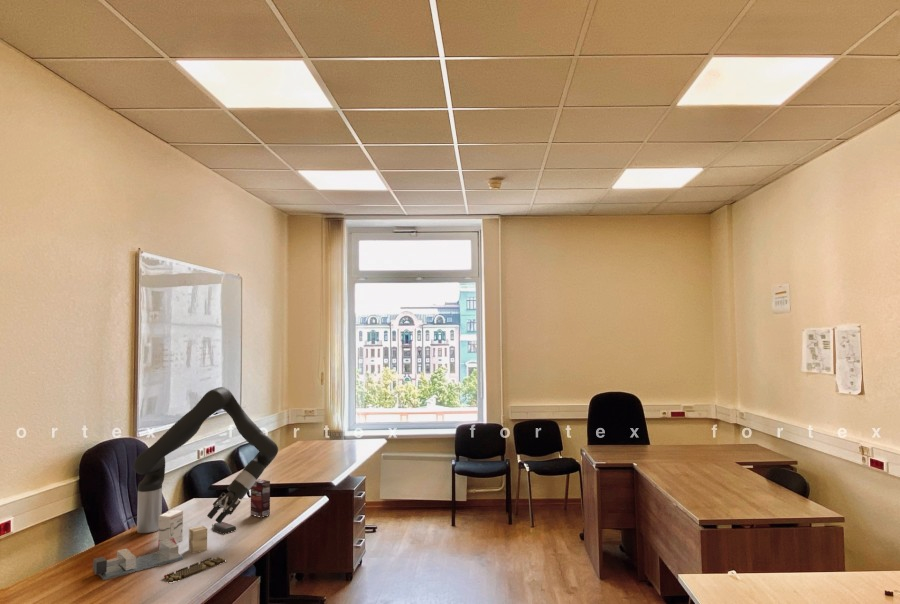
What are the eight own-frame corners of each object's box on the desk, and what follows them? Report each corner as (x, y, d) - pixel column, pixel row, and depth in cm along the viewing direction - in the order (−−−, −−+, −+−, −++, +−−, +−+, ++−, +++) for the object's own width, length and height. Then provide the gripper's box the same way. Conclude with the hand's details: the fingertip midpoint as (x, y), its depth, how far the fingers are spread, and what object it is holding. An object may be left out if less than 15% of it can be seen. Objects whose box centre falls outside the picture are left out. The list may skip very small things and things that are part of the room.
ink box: (168, 547, 213) (168, 516, 214) (157, 547, 214) (157, 516, 215) (183, 539, 222) (183, 510, 223) (172, 539, 223) (173, 509, 224)
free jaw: (90, 568, 191) (91, 556, 191) (126, 559, 198) (126, 547, 199) (98, 577, 182) (98, 565, 183) (135, 568, 190) (135, 556, 190)
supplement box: (249, 515, 253) (250, 480, 254) (258, 513, 256) (259, 478, 258) (261, 518, 248) (261, 482, 249) (270, 515, 252) (270, 480, 253)
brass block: (188, 550, 210) (189, 528, 211) (202, 546, 213) (202, 525, 214) (193, 553, 206) (193, 531, 207) (207, 549, 210) (207, 528, 211)
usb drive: (224, 534, 228) (224, 528, 228) (210, 529, 235) (210, 523, 235) (236, 531, 232) (236, 524, 232) (221, 526, 239) (221, 520, 239)
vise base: (95, 570, 192) (96, 555, 192) (171, 551, 209) (172, 537, 209) (103, 580, 183) (104, 565, 184) (182, 559, 200) (182, 545, 201)
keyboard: (171, 586, 179) (171, 580, 179) (155, 581, 183) (155, 575, 183) (229, 563, 197) (229, 557, 197) (213, 558, 202) (213, 553, 202)
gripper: (228, 476, 227) (199, 510, 218) (243, 481, 217) (213, 518, 208) (240, 487, 230) (212, 521, 221) (255, 492, 220) (227, 529, 211)
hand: (213, 519), depth 215 cm, fingers open, 8 cm apart
